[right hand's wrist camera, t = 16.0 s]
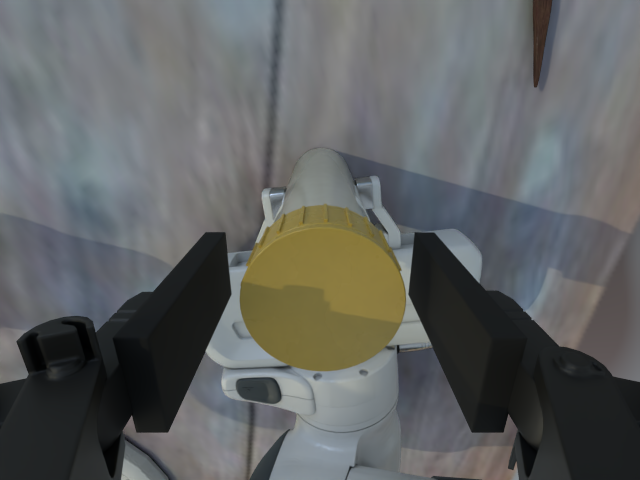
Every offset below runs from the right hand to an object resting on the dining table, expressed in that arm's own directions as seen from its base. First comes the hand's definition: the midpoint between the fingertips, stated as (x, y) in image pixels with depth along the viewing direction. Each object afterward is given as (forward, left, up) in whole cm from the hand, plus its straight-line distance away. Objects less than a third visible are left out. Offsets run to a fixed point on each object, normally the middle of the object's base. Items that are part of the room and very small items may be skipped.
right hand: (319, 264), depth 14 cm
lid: (0, 0, +3) cm, 3 cm away
